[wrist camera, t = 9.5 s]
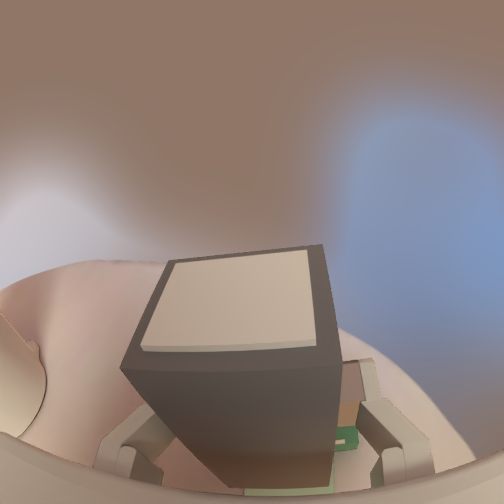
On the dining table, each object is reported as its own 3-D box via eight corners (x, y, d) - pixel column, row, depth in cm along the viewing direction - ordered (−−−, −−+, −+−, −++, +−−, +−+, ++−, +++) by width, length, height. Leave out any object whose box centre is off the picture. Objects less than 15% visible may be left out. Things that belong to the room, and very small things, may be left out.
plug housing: (229, 487, 11) (115, 362, 6) (237, 418, 15) (166, 255, 9) (328, 486, 10) (343, 357, 5) (325, 414, 14) (321, 237, 8)
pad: (242, 515, 16) (241, 515, 16) (248, 456, 20) (247, 455, 20) (334, 514, 15) (334, 514, 15) (332, 452, 19) (332, 452, 19)
